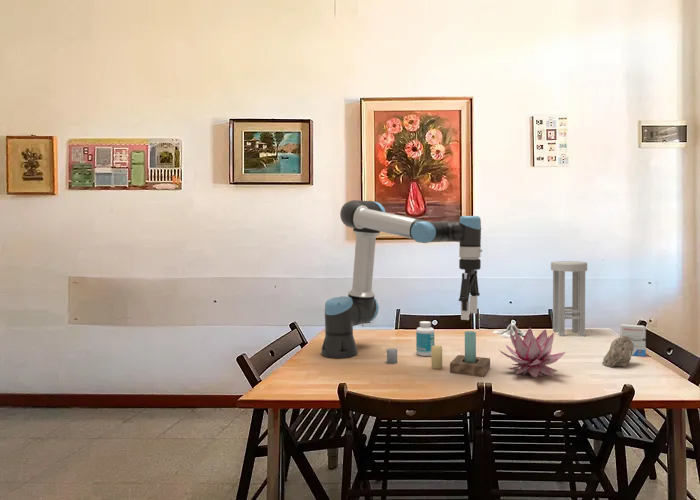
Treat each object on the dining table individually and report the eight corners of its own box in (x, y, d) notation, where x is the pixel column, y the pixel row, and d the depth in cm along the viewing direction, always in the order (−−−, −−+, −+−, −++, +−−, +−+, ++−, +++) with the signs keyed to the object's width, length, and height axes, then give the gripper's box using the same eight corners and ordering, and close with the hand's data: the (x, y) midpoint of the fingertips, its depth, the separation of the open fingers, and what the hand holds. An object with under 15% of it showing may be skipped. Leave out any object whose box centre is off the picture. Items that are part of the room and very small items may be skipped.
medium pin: (430, 368, 175) (430, 347, 175) (433, 365, 179) (433, 344, 179) (440, 369, 174) (440, 348, 173) (443, 366, 177) (443, 345, 177)
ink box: (643, 353, 191) (644, 325, 191) (645, 356, 187) (646, 327, 186) (619, 351, 195) (620, 323, 194) (621, 354, 190) (621, 325, 190)
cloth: (543, 338, 222) (543, 325, 222) (508, 341, 218) (508, 328, 218) (516, 329, 244) (516, 317, 244) (483, 331, 240) (483, 319, 239)
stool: (547, 330, 238) (547, 261, 236) (579, 330, 236) (580, 260, 234) (556, 337, 222) (556, 263, 221) (591, 337, 220) (591, 263, 219)
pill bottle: (434, 357, 191) (434, 324, 190) (415, 356, 192) (415, 323, 192) (434, 352, 198) (434, 320, 198) (417, 351, 200) (416, 320, 199)
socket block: (450, 372, 170) (449, 362, 170) (458, 363, 181) (458, 354, 181) (483, 376, 165) (483, 366, 164) (490, 367, 175) (490, 358, 175)
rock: (627, 354, 167) (604, 343, 173) (619, 377, 172) (597, 366, 177) (642, 340, 175) (620, 330, 181) (634, 362, 180) (612, 352, 185)
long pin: (463, 370, 172) (463, 332, 171) (466, 367, 175) (466, 330, 175) (474, 372, 170) (474, 333, 169) (477, 369, 174) (476, 331, 173)
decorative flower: (559, 387, 153) (559, 341, 152) (493, 377, 164) (492, 334, 164) (568, 369, 171) (568, 328, 170) (508, 362, 182) (508, 323, 182)
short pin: (385, 363, 183) (385, 350, 183) (389, 360, 187) (389, 348, 187) (395, 364, 182) (394, 351, 181) (398, 361, 185) (398, 349, 185)
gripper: (472, 261, 158) (472, 323, 159) (487, 256, 180) (486, 311, 182) (450, 260, 161) (450, 321, 163) (467, 256, 184) (466, 309, 185)
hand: (469, 316), depth 172 cm, fingers open, 13 cm apart
